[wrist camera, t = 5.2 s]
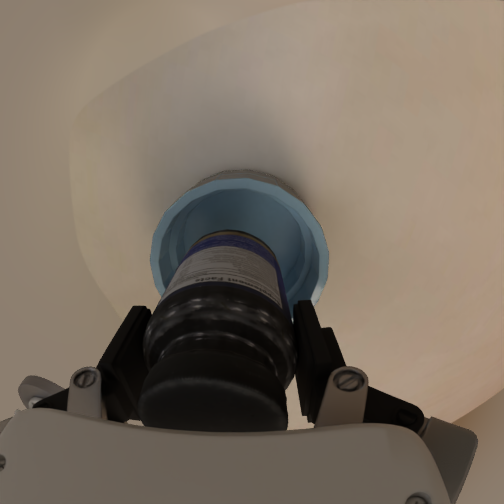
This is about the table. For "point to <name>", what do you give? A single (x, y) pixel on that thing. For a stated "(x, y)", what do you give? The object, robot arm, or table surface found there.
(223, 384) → the pill bottle
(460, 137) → the table surface
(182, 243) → the bowl
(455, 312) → the table surface
